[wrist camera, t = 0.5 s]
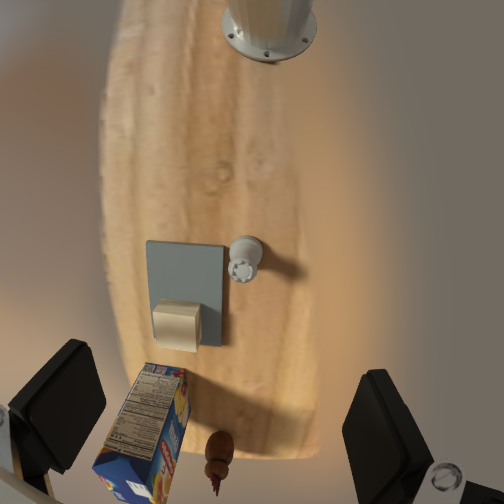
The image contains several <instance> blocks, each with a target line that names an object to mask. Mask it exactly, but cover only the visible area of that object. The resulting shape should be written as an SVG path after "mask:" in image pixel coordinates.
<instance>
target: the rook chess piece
mask: <svg viewBox="0 0 504 504" xmlns="http://www.w3.org/2000/svg"><path fill="white" fill-rule="evenodd" d="M262 254H263V250H262V245H261V244H260V243H259V241H258V240H257V239H255V238H254V237H251V236H240V237H238V238H237V239H235V240H234V241H233V242H232V244H231V245H230V251H229V255H230V259H231V262H230V263H229V266H228V272H229V275H230V276H231V278H232V279H234V280H235V281H236V282H241V283H246V282H249V281H251V280H252V279H254V277H255V276H256V273H257V265H258V264H259V262H260V261H261V258H262Z"/></svg>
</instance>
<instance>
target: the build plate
mask: <svg viewBox="0 0 504 504" xmlns="http://www.w3.org/2000/svg"><path fill="white" fill-rule="evenodd" d="M146 258H147V274H148V287H149V298H150V308H151V317H152V326H153V334H154V338H156V337H155V329H154V320H153V310H154V309H155V307H156V306H157V305H158V303H159V302H160V300H161V299H169V300H178V301H187V302H196V303H201V330H202V338H201V341H200V343H199V344H200V345H209V346H218V347H221V344H222V304H223V268H224V246H223V245H209V244H195V243H181V242H167V241H153V240H148V241H147V242H146Z"/></svg>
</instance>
